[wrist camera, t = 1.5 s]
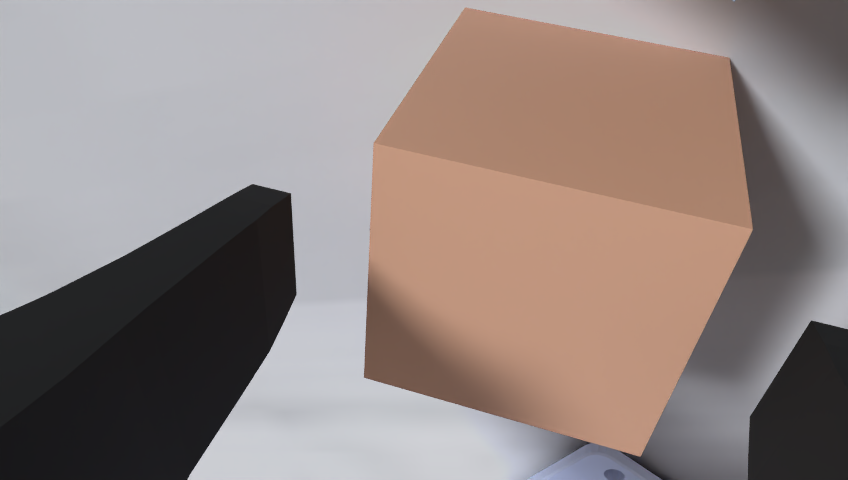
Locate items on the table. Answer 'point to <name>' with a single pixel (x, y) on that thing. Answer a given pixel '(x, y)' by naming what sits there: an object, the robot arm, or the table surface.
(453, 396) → the terracotta block
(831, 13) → the table surface
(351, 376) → the table surface
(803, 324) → the table surface
